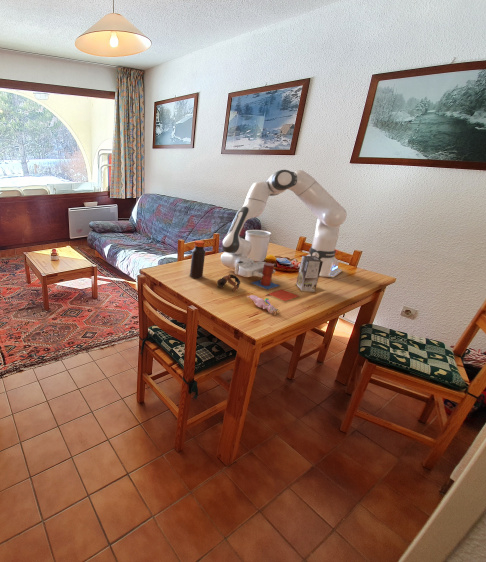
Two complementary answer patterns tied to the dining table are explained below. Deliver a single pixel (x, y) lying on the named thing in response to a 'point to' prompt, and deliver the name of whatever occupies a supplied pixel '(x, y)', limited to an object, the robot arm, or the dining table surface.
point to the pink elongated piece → (263, 304)
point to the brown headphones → (229, 281)
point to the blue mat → (265, 286)
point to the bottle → (197, 260)
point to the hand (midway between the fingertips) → (268, 273)
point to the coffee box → (309, 273)
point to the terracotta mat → (283, 295)
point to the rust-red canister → (267, 274)
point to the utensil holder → (258, 244)
